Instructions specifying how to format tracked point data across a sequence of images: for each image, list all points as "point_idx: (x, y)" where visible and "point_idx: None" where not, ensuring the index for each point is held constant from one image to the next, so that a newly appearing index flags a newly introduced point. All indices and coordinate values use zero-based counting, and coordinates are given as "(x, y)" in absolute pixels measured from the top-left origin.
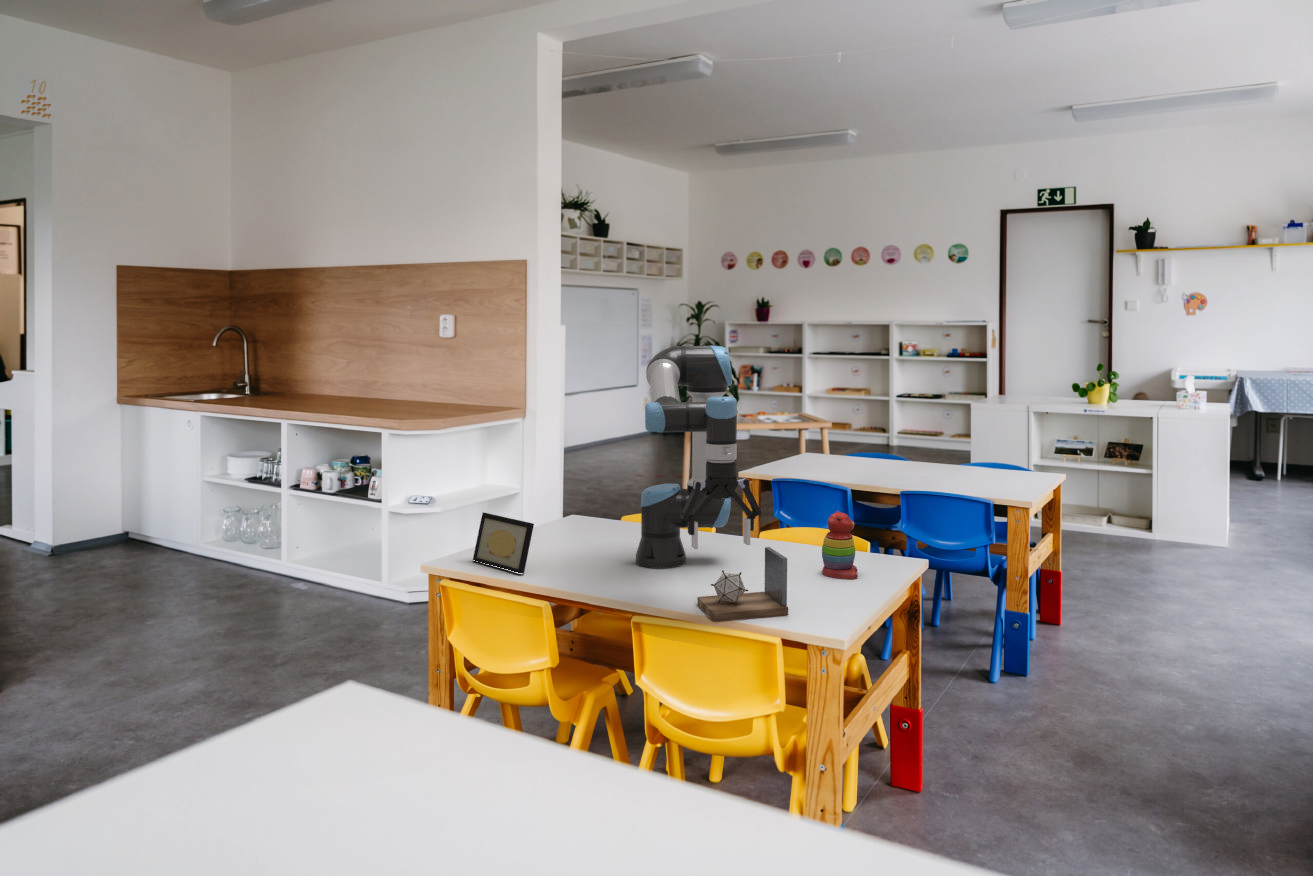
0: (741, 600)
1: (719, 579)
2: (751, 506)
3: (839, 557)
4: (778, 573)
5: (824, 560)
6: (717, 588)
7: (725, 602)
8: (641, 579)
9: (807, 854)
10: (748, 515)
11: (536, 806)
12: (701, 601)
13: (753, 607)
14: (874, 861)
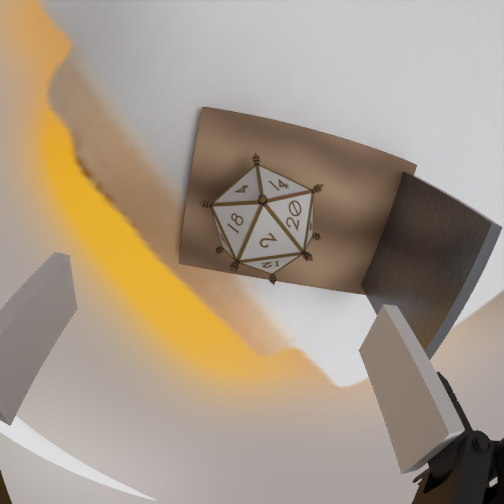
0: None
1: (231, 217)
2: (490, 502)
3: None
4: (401, 311)
5: None
6: (215, 224)
7: None
8: None
9: (122, 489)
10: (419, 489)
11: (15, 432)
12: (194, 150)
13: (297, 265)
14: (145, 497)
